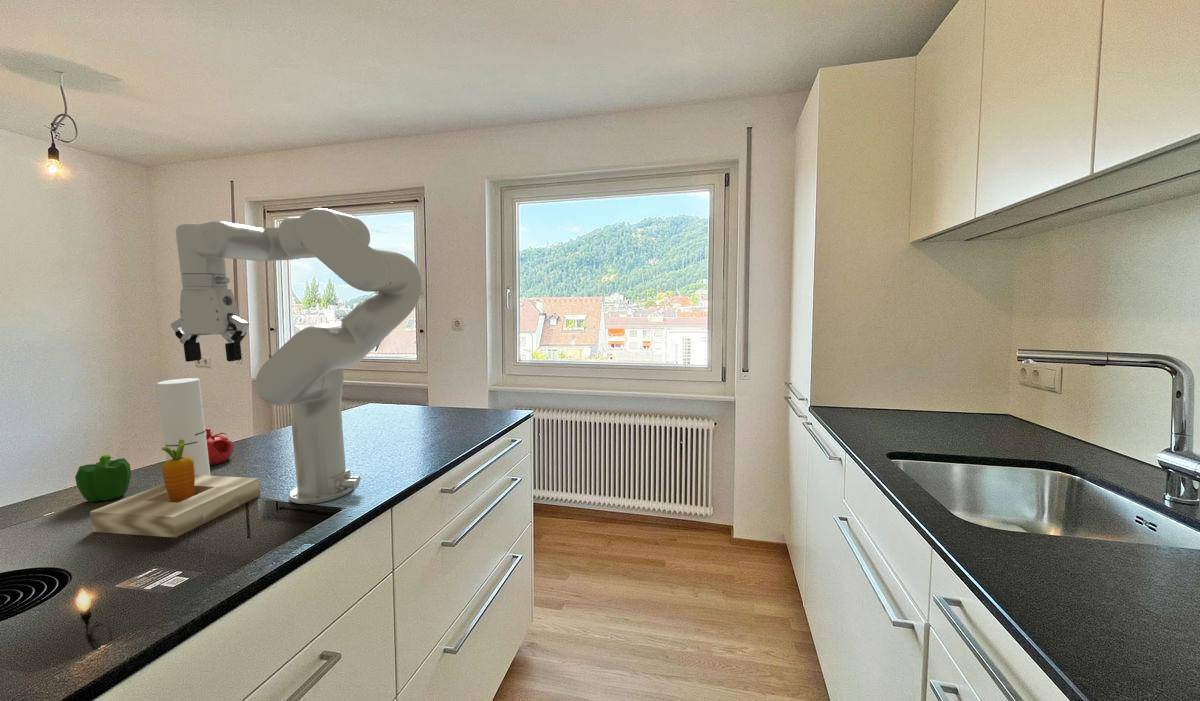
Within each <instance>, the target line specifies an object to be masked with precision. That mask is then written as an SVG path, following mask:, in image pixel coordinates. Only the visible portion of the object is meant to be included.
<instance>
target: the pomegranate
mask: <svg viewBox="0 0 1200 701" xmlns="http://www.w3.org/2000/svg"><path fill="white" fill-rule="evenodd" d="M205 432H206V440H207V449H208V458H209V466H215V465H218V464H222V463H224V462H227V460H229V459H230V458H231V457H232V455H233V452H234V447H235V446H234V443H233V441H231V440H230V439H229V438H228V437H226V436H223V435H227V433H224V432H220V433H218V434H214V435H212V434H213V433H214V431H212V430H211V428H210V427H207V428H205Z"/></svg>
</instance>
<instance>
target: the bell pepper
mask: <svg viewBox="0 0 1200 701" xmlns="http://www.w3.org/2000/svg"><path fill="white" fill-rule="evenodd" d="M111 458H112V456H110V455H108V454H104V455H101V456H100V457H99V461H97V462H96V463H94V464H93V463H90V464H84V465H80V466H79V467H78V469H77V472H76V474H75V476H74V477H75V482H76V487H77V488H78V490H79V493H80V494H81V495H82V497H83V498H84V500H86V501H88V502H90V503H94V502H100V501H111V500H115V499H118V498H121V497H123V496H124V495H125V494H126V492H127V490H128V489H129V487H130V482H131V478H132V477H131V476H132V472H131V464H130V463H129V462H128V461H127V459H126V458H124V457H122V458H117V459H114V460H113V459H112V460H111Z"/></svg>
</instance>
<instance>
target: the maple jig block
mask: <svg viewBox="0 0 1200 701" xmlns="http://www.w3.org/2000/svg"><path fill="white" fill-rule="evenodd" d="M260 496H261V490H260V479H259V478H258V477H245V476H243V477H242V476H241V477H240V476H225V475H210V476H206V475H195V484H194V492H193V496H192V497H190V498H188V499H186V500H183V501H181V502H179V503H176V502H172V501H171V499H170V497H169V495H168V492H167V490H166V487H165V482H164V483H162V484H159V485H156V486H154V487H151V488H149V489H146V490H143V491H141V492H138V493H135V494H133V495H130V496H127V497H125V498H123V499H120V500H117V501H115V502H112V503H108V504H107V505H104V506H101V507H99V508H96V509H93V510H90V511H89V513H90V520H91V527H92V532H93V533H102V534H103V533H104V534H106V533H107V534H118V535H122V534H123V535H135V536H148V537H161V538H179V537H180V536H182V535H184V534H186V533H188V532H191V531H192V530H194V529H196V528H197V527H200V526H203V525H205V524H206V523H208V522H210V521H212V520H214V519H216V518H218V517H220V516H222V515H224V514H226V513H228V512H230V511H232V510H234V509H235V508H237V507H239V506H242V505H244V504H246V503H248V502H250V501H251V500H254V499H255V498H258V497H260Z"/></svg>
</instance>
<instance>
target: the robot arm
mask: <svg viewBox="0 0 1200 701" xmlns="http://www.w3.org/2000/svg"><path fill="white" fill-rule="evenodd" d="M175 238H176V244H177V253H178V254H177V255H178V261H179V262H178V263H179V270H180V279H181V286H182V289H180V300H179V316H180V317H179V318H178V319H177V320H175V321H173V322H172V323H171V324H170V328H172V330H173V331H174V333H175V336H176V337H177V338H178V340H179V342H180V344H183V351H184V358H185V359H184V360H185V362H195V361H196V362H197V361H200V360H202V352H201V351H202V350H201V343H200V342H197V341H198V340H199V338H200V337H201V336H217V335H221V337H222V338H223V339H224V340H225V341H226V342H227V343H224V346H225V347H224V348H225V355H226V356H225V357H226V361H227V362H236V361H242V359H243V358H242V355H243V354H242V349H241V343H243V341H244V338H245V337H246V335H247V333H248V332H247V331H248V328H249V326H250V323H249V322H248V321H246V320H244V319H241V318H240V316H239V315H240V314H239V310H238V306H237V301H236V299H235V295H234V293H233V290H232V289H229V288H228V284H229V283H230V278H229V277H228V276H227V269H226V260H225V259H233V260H245V261H256V262H272V261H273V262H274V261H291V260H299V259H311V258H312V259H313V258H316V259H318V260H319V261H320V262H321V263H323V265H325V266H326V267H327V268H328V269H329V270H330V271H332V272H333V273H334V274H335V275H336V276H338V278H340V279H341V280H342V281H343V282H344V283H345V284H347V285H349V286H350V287H352V288H354V289H357V290H358V291H362V292H369V293H370V292H371V293H372V294H371V295H369V296H368V297H367V298H365V299H364V300H362V301H360V302H359V303H358V304H357V305H355V307H354V308H353V309H352V310H351V311H350V312H348V314H346V315H345V316H344V317H342V318H341V319H339V320H338V321H334V322H329V323H319V324H313V325H310V326H307V327H305V328H303V329H301V330H300V331H298V332H296V333H295V334H294V335H293V336H291V338H290V339H288V340H287V341H286V342H285V343H284V344H283V345H282V346H281V347H280V348H279V349H278V350H277V351H276V352H274V353H273V355H271V357H269V359H268V360H266V361H265V362H264V363H263V364H262V365H261V367H260V369H259V370H258V372H257V374H256V378H255V381H254V382H255V383H254V386H255V390H256V393H257V395H258V397H259V398H260V399H261V400H262V401H263V402H265V403H267V404H269V405H272V406H275V407H286V406H292V410H291V418H290V419H291V420H290V421H291V422H290V423H291V434H292V444H293V455H294V466H295V478H296V486H295V487H294V488H293V489H292V490H291V491H290V492H289V494H288V496H289V497H288V498H289V500H290V501H291V502H292V503H295V504H299V505H300V504H301V505H308V504H309V505H311V504H318V503H319V504H320V503H325V502H328V501H334V500H335V499H338V498H341V497H343V496H346V495H347V494H349V493H351V492H352V490H355V489H358V487H359V486H360V482H361V479H362V478H361V476H360V475H353V476H352V475H351V469H350V468H347V467H346V456H345V454H346V453H345V442H344V430H343V428H344V427H343V413H342V395H343V386H344V377H345V376H344V371H343V368H347V367H350V366H354V365H357V364H358V363H359V362H361V361H362V360H363V359H364V358H365V357H366V356H368V354H369V353H371V352H372V351H373V350H374V349H375V348H376V347H377V346H378V345H379V344H380V343H382V341H384V339H385V338H386V337H387V336H388V335H389V334H390V333H392V332H393V331H394V329H396V328H397V327H398V326H400V324H402V322H404V320H406V319H407V318H408V316H410V314H411V313H412V312H413V311H414V309H415V308H416V306H417V304H418V302H419V300H420V298H421V293H422V278H421V274H420V273H421V272H420V270H419V269H418V266H417V265H416V263H415V262H413V260H412V259H410V258H409V257H408V256H407V255H404V254H401V253H398V252H397V251H391V250H384V249H380V248H379V249H377V248H373V247H370V246H369V245H370V243H371V234H370V230H369V229H368V227H367V225H366V224H365V223H364V222H363V221H362V219H359V218H357V217H355V216H354V215H351V214H347V213H343V212H340V211H336V210H333V209H328V208H322V207H317V208H312V209H308V210H307V211H305V212H304V213H302V215H301V216H289V217H286V218H284V219H283V220H282V221H281V222H280V224H279V225H278V227H277V226H276V227H256V226H251V225H246V224H241V223H235V222H234V223H233V222H229V221H221V220H213V221H208V222H204V223H183V224H180V225H178V226H177V227H175Z"/></svg>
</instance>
